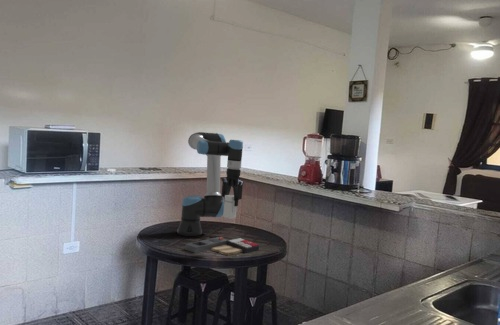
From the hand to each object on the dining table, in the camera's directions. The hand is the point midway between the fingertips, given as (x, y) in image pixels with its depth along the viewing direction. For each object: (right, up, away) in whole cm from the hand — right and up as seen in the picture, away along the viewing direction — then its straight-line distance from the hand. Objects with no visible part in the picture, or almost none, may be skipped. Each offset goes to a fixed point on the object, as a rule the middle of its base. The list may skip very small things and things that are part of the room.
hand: (230, 210), depth 223 cm
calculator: (+7, -23, +10) cm, 26 cm away
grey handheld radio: (-11, -21, +7) cm, 25 cm away
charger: (0, -4, 0) cm, 4 cm away
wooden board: (-2, -22, +2) cm, 22 cm away
